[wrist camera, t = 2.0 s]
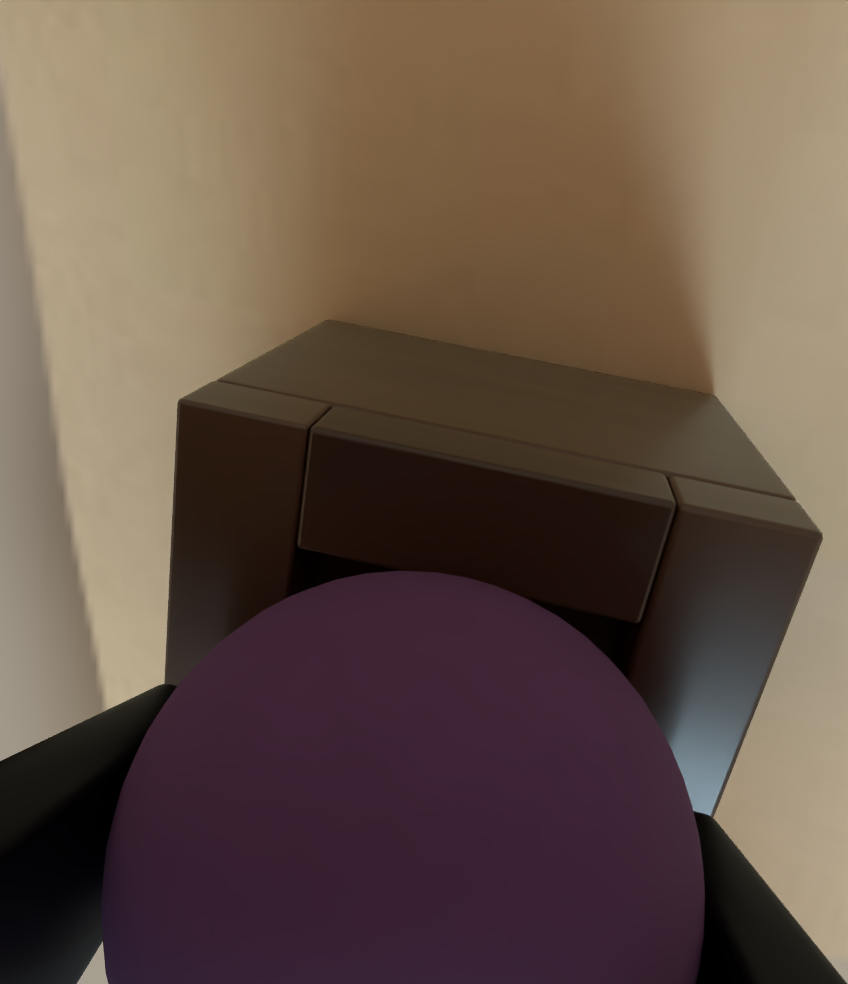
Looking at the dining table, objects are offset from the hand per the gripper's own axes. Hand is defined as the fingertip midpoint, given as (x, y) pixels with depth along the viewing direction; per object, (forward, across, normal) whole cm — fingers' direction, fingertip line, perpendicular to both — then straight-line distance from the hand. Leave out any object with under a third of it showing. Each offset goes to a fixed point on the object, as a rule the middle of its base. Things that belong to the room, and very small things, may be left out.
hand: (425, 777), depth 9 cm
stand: (+7, 0, 0) cm, 7 cm away
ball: (-1, 0, 0) cm, 1 cm away
